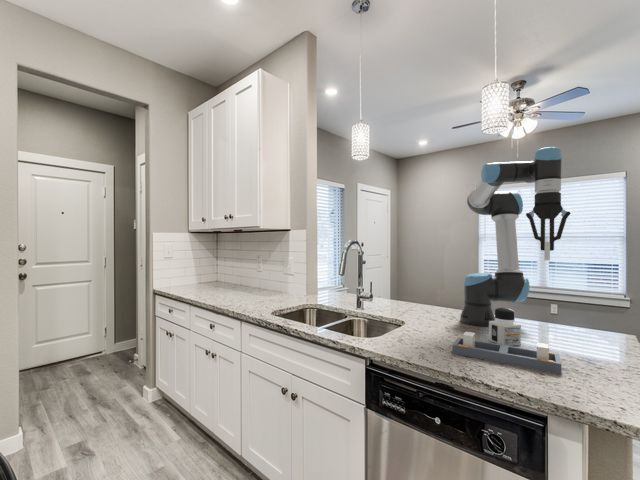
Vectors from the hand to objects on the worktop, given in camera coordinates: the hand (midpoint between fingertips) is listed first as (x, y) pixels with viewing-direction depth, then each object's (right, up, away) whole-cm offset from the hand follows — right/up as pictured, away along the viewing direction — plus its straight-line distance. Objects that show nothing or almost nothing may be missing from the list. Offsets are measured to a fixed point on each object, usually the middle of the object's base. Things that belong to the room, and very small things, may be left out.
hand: (547, 260), depth 112 cm
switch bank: (-19, -32, -6) cm, 38 cm away
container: (-9, -33, +11) cm, 35 cm away
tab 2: (-10, -31, -12) cm, 35 cm away
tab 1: (-27, -31, 0) cm, 41 cm away
